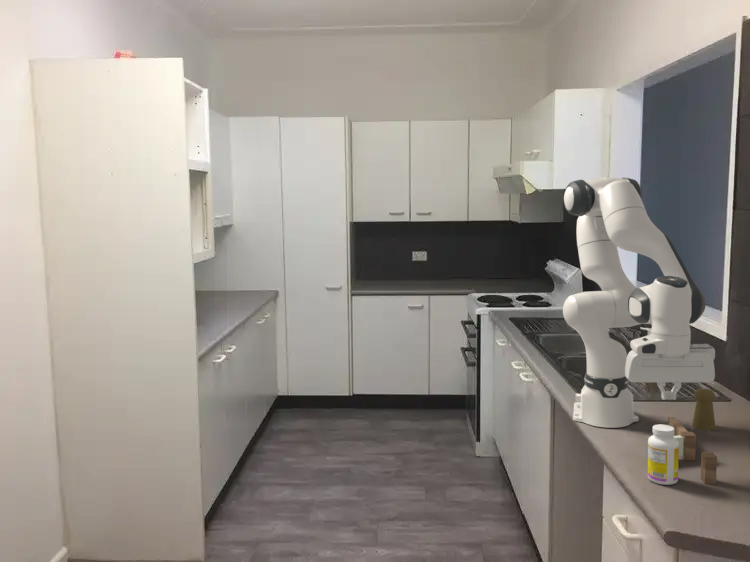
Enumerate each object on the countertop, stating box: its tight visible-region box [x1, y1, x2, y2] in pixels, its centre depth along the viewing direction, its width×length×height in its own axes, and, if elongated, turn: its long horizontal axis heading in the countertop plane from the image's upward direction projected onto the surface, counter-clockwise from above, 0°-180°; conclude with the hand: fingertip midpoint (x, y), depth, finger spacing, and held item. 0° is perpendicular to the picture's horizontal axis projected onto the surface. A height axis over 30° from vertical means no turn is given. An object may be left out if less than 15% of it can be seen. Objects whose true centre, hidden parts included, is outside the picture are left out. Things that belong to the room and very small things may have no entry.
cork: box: [691, 388, 716, 432], centre depth 189 cm, size 6×6×11 cm
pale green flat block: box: [645, 435, 683, 459], centre depth 167 cm, size 9×2×6 cm, turn 100°
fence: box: [667, 416, 718, 485], centre depth 167 cm, size 28×2×6 cm, turn 173°
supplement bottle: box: [647, 423, 680, 486], centre depth 156 cm, size 7×7×13 cm
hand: (668, 399), depth 163 cm, fingers closed
